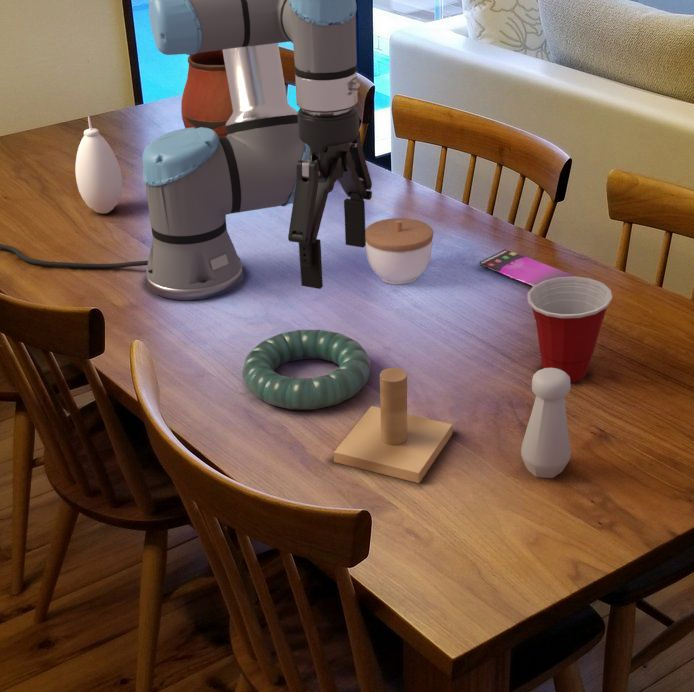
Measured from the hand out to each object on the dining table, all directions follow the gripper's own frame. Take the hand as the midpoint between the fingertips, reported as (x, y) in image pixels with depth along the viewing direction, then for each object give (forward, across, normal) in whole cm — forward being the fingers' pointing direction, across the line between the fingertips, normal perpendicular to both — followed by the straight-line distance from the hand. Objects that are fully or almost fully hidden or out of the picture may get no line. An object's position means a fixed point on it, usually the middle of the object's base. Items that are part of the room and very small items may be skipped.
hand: (334, 265), depth 143 cm
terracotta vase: (+14, +52, +45) cm, 70 cm away
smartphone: (+14, +34, -17) cm, 41 cm away
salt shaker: (+14, -15, -34) cm, 40 cm away
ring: (+12, -8, +1) cm, 14 cm away
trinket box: (+14, +26, +2) cm, 30 cm away
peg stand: (+14, -18, -16) cm, 28 cm away
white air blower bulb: (+14, +32, +63) cm, 72 cm away
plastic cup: (+14, +7, -30) cm, 34 cm away
